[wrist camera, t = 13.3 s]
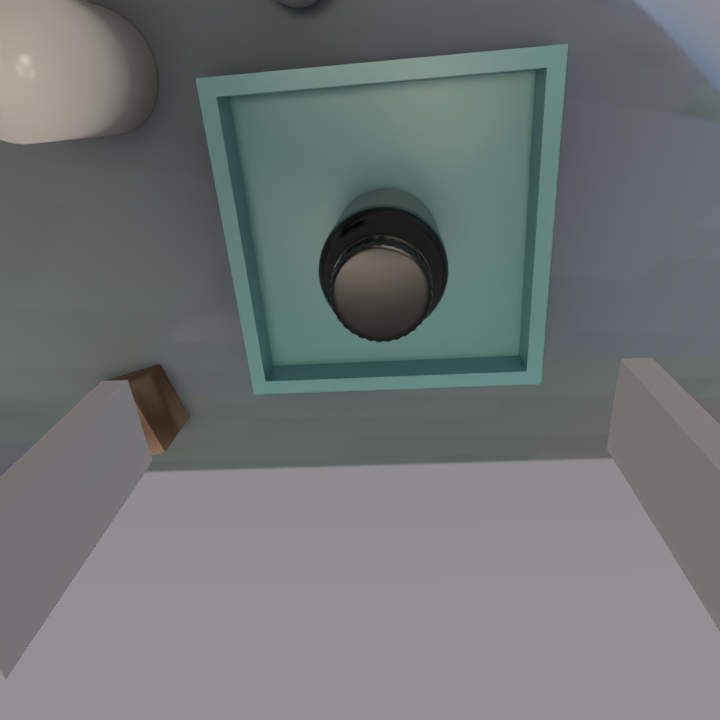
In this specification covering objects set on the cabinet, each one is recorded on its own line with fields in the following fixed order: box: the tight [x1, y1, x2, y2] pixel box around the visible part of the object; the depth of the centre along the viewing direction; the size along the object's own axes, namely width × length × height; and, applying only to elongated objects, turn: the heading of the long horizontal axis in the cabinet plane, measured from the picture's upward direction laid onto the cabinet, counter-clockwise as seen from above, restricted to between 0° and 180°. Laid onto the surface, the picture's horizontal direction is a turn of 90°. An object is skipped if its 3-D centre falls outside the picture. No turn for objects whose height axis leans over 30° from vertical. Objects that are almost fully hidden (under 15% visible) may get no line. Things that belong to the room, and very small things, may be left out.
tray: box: [195, 44, 568, 394], centre depth 34 cm, size 20×20×4 cm
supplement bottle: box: [318, 188, 449, 342], centre depth 29 cm, size 7×7×12 cm
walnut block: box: [107, 364, 189, 456], centre depth 40 cm, size 5×5×5 cm
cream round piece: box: [0, 0, 158, 144], centre depth 28 cm, size 7×7×9 cm
